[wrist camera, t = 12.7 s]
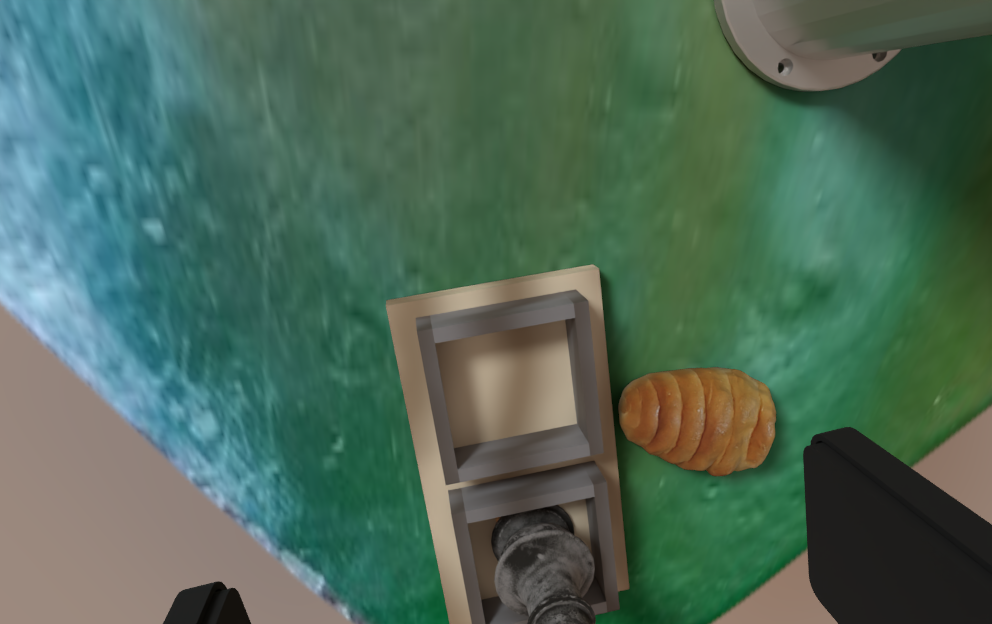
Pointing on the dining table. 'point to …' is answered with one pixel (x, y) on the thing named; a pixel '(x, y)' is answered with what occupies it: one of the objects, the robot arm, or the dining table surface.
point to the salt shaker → (543, 567)
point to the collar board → (511, 425)
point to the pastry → (700, 418)
